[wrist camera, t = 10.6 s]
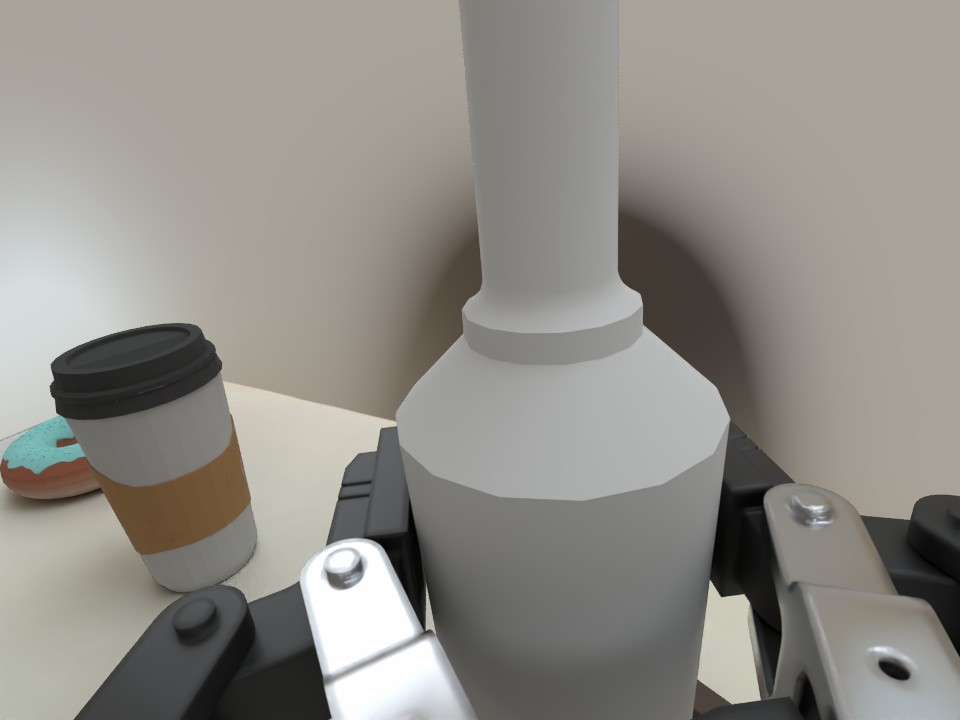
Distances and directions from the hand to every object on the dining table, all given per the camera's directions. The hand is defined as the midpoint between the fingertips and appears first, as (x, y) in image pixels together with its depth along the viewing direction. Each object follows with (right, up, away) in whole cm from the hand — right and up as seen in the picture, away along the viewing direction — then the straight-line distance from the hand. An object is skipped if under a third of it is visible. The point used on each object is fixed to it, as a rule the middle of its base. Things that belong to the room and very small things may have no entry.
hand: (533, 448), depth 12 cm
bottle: (+2, -14, +3) cm, 14 cm away
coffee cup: (-19, -11, +24) cm, 33 cm away
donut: (-35, -7, +36) cm, 51 cm away
